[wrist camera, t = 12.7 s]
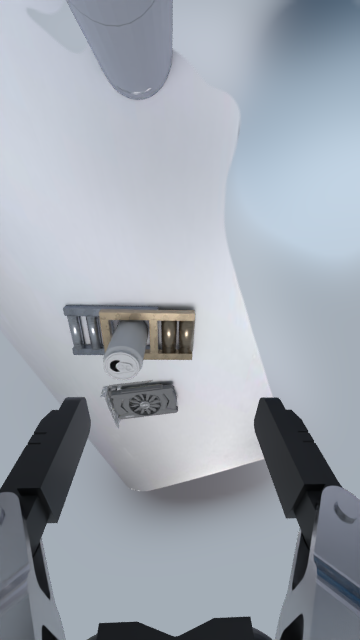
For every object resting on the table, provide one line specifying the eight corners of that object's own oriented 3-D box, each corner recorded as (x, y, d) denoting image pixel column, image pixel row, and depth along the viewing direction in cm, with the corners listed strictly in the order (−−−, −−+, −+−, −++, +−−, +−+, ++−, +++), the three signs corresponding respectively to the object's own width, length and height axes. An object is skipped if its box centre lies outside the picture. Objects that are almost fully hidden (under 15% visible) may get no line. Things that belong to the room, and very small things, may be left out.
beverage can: (117, 313, 45) (99, 348, 34) (149, 317, 45) (142, 352, 35) (117, 340, 47) (101, 380, 37) (147, 343, 48) (140, 384, 37)
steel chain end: (66, 305, 43) (61, 309, 42) (158, 306, 44) (157, 310, 42) (76, 350, 48) (72, 356, 47) (158, 351, 49) (158, 356, 47)
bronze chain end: (103, 305, 44) (98, 312, 41) (194, 307, 44) (196, 313, 42) (109, 350, 49) (105, 359, 46) (191, 351, 49) (192, 359, 47)
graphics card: (113, 430, 56) (99, 397, 50) (116, 417, 60) (103, 384, 54) (180, 422, 56) (174, 387, 50) (179, 409, 59) (173, 375, 53)
